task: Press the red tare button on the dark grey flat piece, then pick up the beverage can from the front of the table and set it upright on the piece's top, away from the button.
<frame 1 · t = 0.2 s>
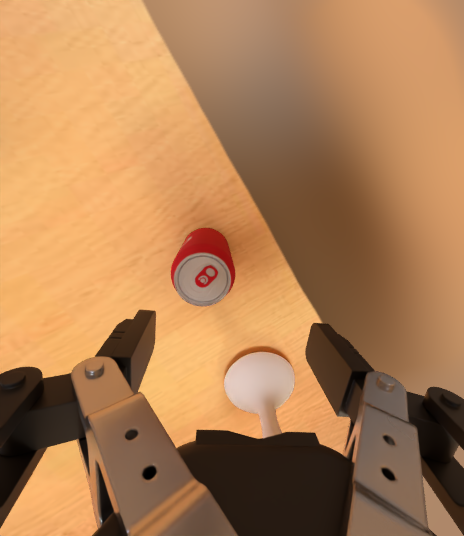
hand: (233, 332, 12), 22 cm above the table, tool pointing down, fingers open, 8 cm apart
flower in vase: (254, 377, 41), on the table
beverage can: (206, 249, 34), on the table
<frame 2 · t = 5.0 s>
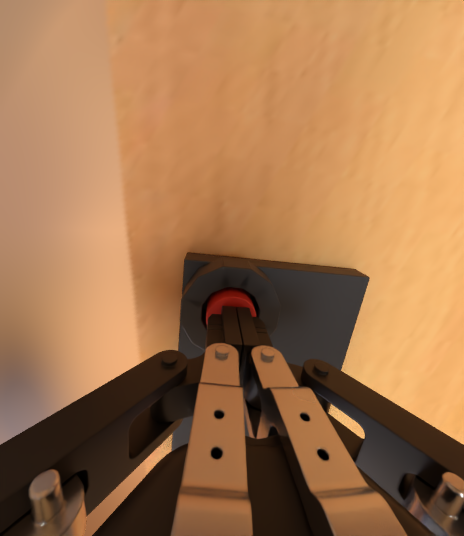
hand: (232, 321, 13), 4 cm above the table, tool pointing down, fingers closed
tare button: (230, 312, 14), point 3 cm above the table, slide at -0.7 cm, touching gripper
dark grey flat piece: (255, 368, 20), on the table
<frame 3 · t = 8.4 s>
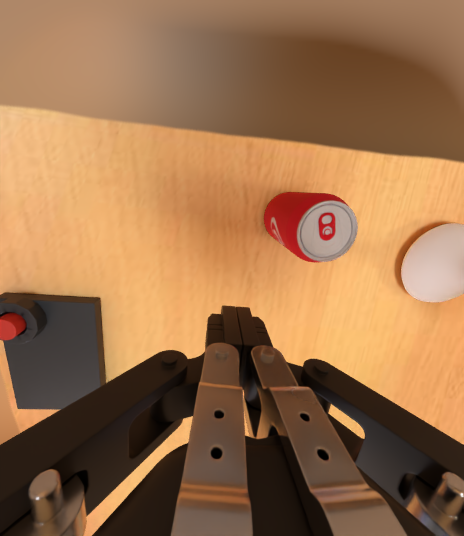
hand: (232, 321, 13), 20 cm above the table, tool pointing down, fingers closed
tare button: (9, 326, 29), point 4 cm above the table, slide at 0.1 cm
flower in vase: (429, 266, 36), on the table
dark grey flat piece: (60, 351, 35), on the table
beverage can: (286, 216, 32), on the table
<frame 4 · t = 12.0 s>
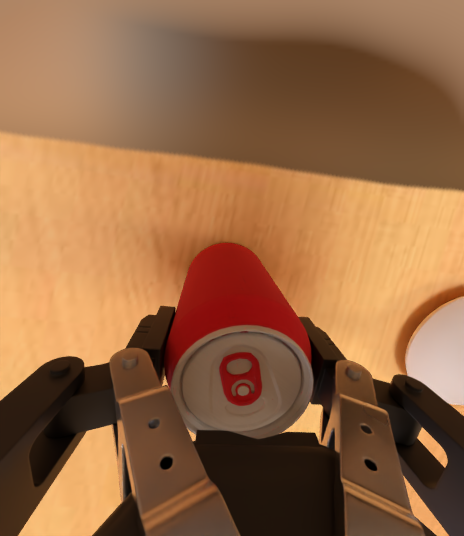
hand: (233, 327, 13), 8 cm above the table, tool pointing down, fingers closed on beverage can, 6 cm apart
flower in vase: (447, 345, 24), on the table
beverage can: (226, 276, 20), on the table, touching gripper
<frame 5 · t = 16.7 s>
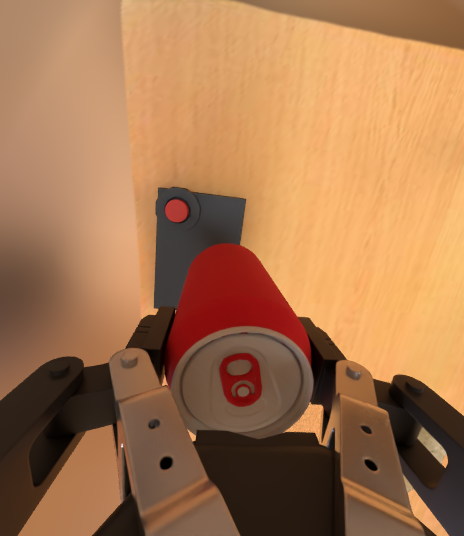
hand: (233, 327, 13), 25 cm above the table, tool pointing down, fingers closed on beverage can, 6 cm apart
tare button: (177, 210, 31), point 4 cm above the table, slide at 0.1 cm
bowl: (374, 415, 51), on the table
dark grey flat piece: (198, 254, 37), on the table
beverage can: (226, 277, 20), point 18 cm above the table, touching gripper
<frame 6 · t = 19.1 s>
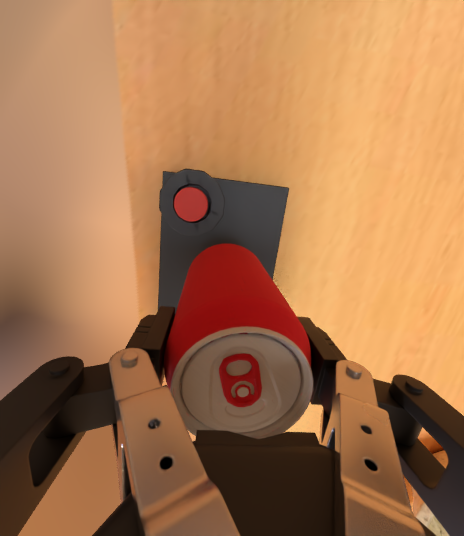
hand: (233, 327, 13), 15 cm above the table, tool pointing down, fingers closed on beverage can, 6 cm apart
tare button: (191, 204, 21), point 4 cm above the table, slide at 0.1 cm
bowl: (434, 463, 40), on the table
dark grey flat piece: (217, 265, 27), on the table
beverage can: (226, 277, 20), point 7 cm above the table, touching gripper
when the fingers open (9 cm above the table, at t = 21.2 s): beverage can stays where it is, resting on dark grey flat piece.
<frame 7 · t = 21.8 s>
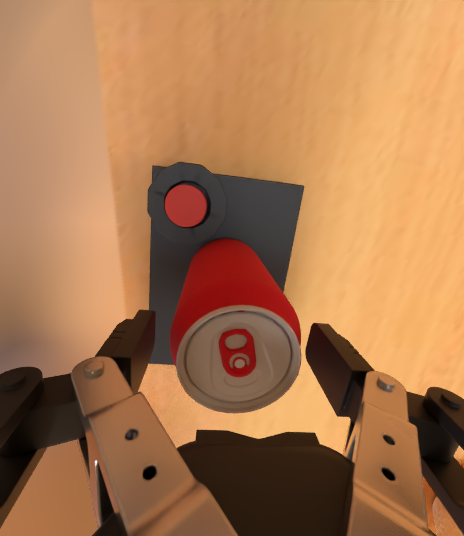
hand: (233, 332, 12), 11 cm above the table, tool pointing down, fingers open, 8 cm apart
tare button: (186, 205, 17), point 4 cm above the table, slide at 0.1 cm
bowl: (458, 491, 37), on the table
dark grey flat piece: (218, 276, 23), on the table
beverage can: (225, 271, 22), point 2 cm above the table, touching dark grey flat piece
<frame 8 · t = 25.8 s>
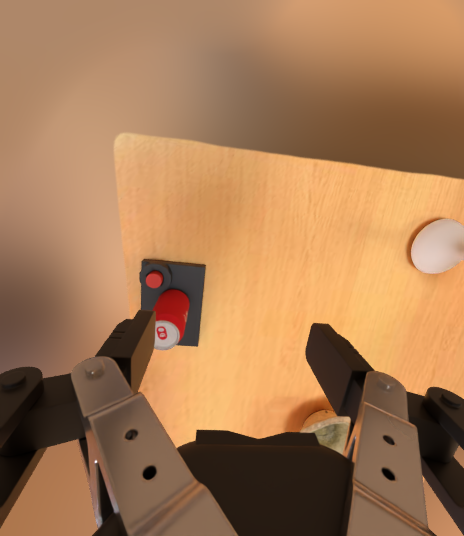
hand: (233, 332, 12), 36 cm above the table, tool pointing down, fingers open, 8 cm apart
tare button: (154, 279, 45), point 4 cm above the table, slide at 0.1 cm
bowl: (319, 420, 64), on the table
flower in vase: (430, 248, 51), on the table
dark grey flat piece: (172, 303, 51), on the table
beverage can: (174, 301, 49), point 2 cm above the table, touching dark grey flat piece
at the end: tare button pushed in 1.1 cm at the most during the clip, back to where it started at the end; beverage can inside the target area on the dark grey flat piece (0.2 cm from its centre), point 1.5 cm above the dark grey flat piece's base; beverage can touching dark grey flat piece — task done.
